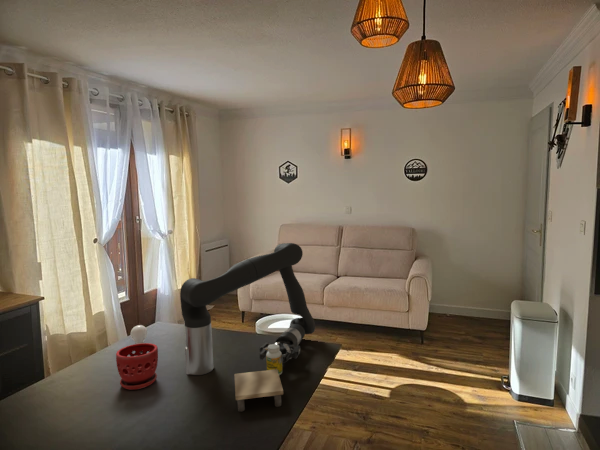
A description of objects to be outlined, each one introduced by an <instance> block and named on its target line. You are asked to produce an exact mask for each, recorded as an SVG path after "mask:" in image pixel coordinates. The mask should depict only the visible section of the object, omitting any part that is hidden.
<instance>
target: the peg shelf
mask: <svg viewBox="0 0 600 450" xmlns="http://www.w3.org/2000/svg"><path fill="white" fill-rule="evenodd" d="M234 391H235V392H234V393H235V401H237V411H238V412H244V411H245V410H246V407H245V400H248V399H250V400H251V399H256V398H263V397H264V398H265V397H273V398H274V406H275V407H276V408H279V407H281V406H282V396H283V395H284V389H283V385H282V382H281V378H280V375H279V374H278V371H277V369H274V370H267V369H266V370H257V371H249V372H240V373H234Z"/></svg>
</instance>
